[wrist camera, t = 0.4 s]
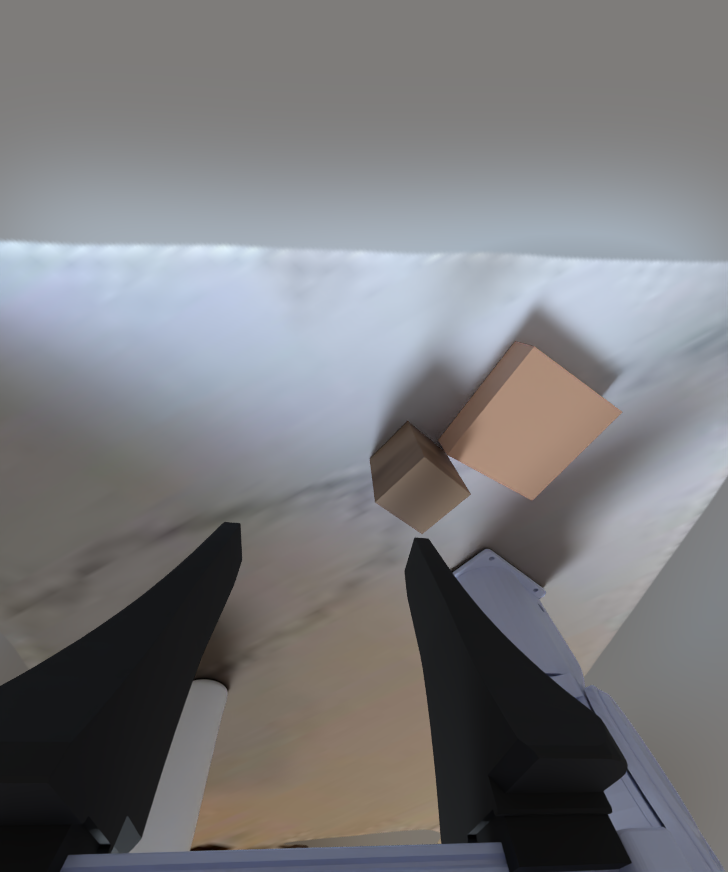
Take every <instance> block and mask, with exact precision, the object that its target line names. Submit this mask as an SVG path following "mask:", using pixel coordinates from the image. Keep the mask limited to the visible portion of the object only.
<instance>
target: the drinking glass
mask: <svg viewBox="0 0 728 872" xmlns="http://www.w3.org/2000/svg"><path fill="white" fill-rule="evenodd" d="M227 698H228V691H227V689H226V687H225V686H224V685H223V684H221V683H219V682H217V681H214V680H209V679H198V680H194V681H193V682H192V685H191V688H190V691H189V693H188V696H187V699H186V702H185V705H184V708H183V711H182V714H181V717H180V720H179V723H178V725H177V728H176V731H175V734H174V737H173V740H172V744H171V747H170V750H169V753H168V756H167V759H166V762H165V765H164V768H163V771H162V774H161V777H160V781H159V784H158V787H157V790H156V793H155V797H154V800H153V803H152V806H151V810H150V813H149V816H148V819H147V822H146V826H145V829H144V832H143V836H142V839H141V840H140V841H139V842H138V844H137V845H136V846H135V847H134V848H133V849H132V850H131V851H130V852H129V853H151V852H185V851H190V849H191V845H192V841H193V837H194V833H195V829H196V825H197V821H198V816H199V812H200V808H201V803H202V799H203V795H204V791H205V786H206V782H207V778H208V773H209V769H210V765H211V761H212V756H213V752H214V748H215V744H216V740H217V735H218V731H219V727H220V723H221V719H222V715H223V712H224V708H225V705H226V702H227Z"/></svg>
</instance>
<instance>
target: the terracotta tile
mask: <svg viewBox="0 0 728 872" xmlns="http://www.w3.org/2000/svg"><path fill="white" fill-rule="evenodd" d="M621 413H622V411H620V410H619V409H618V408H616V407H615V406H614V405H612V404H611V403H610V402H608V401H607V400H606V399H604V398H603V397H602V396H600V395H599V394H598V393H596V392H595V391H594V390H592V389H591V388H589V387H588V386H587V385H585V384H584V383H583V382H581V381H580V380H579V379H577V378H576V377H575V376H573V375H572V374H571V373H569V372H568V371H567V370H565V369H564V368H563V367H561V366H560V365H559V364H557V363H556V362H555V361H553V360H552V359H551V358H549V357H548V356H547V355H545V354H544V353H543V352H541V351H540V350H539V349H537V348H536V347H535V346H531V345H527V344H524V343H520V342H516V341H515V342H514V343H513V344H512V346H511V347H510V348H509V350H508V351H507V352H506V353H505V355H504V356H503V357H502V359H501V360H500V361H499V362H498V364H497V365H496V366H495V368H494V369H493V370H492V371H491V373H490V374H489V375H488V377H487V378H486V379H485V380H484V382H483V383H482V384H481V386H480V387H479V388H478V389H477V391H476V392H475V393H474V395H473V396H472V397H471V398H470V400H469V401H468V402H467V404H466V405H465V406H464V407H463V409H462V410H461V411H460V413H459V414H458V415H457V416H456V418H455V419H454V420H453V422H452V423H451V424H450V425H449V427H448V428H447V429H446V431H445V432H444V433H443V434H442V436H441V437H440V438H439V440H438V441H439V443H440V444H441V446H442V447H443V449H444V451H445V452H446V454H447V455H449V456H450V457H452V458H454V459H456V460H458V461H460V462H461V463H463V464H465V465H467V466H469V467H471V468H473V469H474V470H476V471H478V472H480V473H482V474H484V475H486V476H487V477H489V478H491V479H493V480H495V481H497V482H498V483H500V484H502V485H504V486H506V487H508V488H510V489H511V490H513V491H515V492H517V493H519V494H521V495H523V496H524V497H526V498H528V499H530V500H533V499H535V498H536V497H537V496H538V495H539V494H540V493H541V492H542V491H543V490H544V489H545V488H546V487H547V486H548V485H549V484H550V483H551V482H552V481H553V480H554V479H555V478H556V477H557V476H558V475H559V474H560V473H561V472H562V471H563V470H564V469H565V468H566V467H567V466H568V465H569V464H570V463H571V462H572V461H573V460H574V459H575V458H576V457H577V456H578V455H579V454H580V453H581V452H582V451H583V450H584V449H585V448H586V447H587V446H588V445H589V444H591V443H592V442H593V441H594V440H595V439H596V438H597V437H598V436H599V435H600V434H601V433H602V432H603V431H604V430H605V429H606V428H607V427H608V426H609V425H610V424H611V423H612V422H613V421H614V420H615V419H616V418H617V417H618V416H619V415H620V414H621Z"/></svg>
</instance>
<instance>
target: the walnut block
mask: <svg viewBox="0 0 728 872" xmlns="http://www.w3.org/2000/svg"><path fill="white" fill-rule="evenodd" d="M370 465H371V473H372V481H373V489H374V497H375V503H377V504H378V505H380V506H381V507H383V508H384V509H386V510H387V511H389V512H390V513H392V514H393V515H395V516H396V517H398V518H399V519H400V520H402V521H403V522H405V523H406V524H408V525H409V526H411V527H412V528H414V529H415V530H417V531H418V532H420V533H421V534H423V533H424V532H425V531H427V530H428V529H429V528H430V527H431V526H433V525H434V524H435V523H436V522H438V521H439V520H440V519H441V518H442V517H444V516H445V515H446V514H447V513H449V512H450V511H451V510H452V509H454V508H455V507H456V506H457V505H458V504H460V503H461V502H462V501H463V500H465V499H466V498H467V497H468V496H469V495H471V494H470V492H469V490H468V489H467V487H466V485H465V484H464V482H463V481H462V479H461V477H460V476H459V474H458V472H457V471H456V469H455V467H454V466H453V464H452V463H451V461H450V459H449V458H448V456H447V454H446V453H445V452H444V451H443V450H442V449H440V448H439V447H438V446H437V445H436V444H434V443H433V442H432V441H431V440H430V439H429V438H427V437H426V436H425V435H424V434H423V433H421V432H420V431H419V430H418V429H417V428H415V427H414V426H413V425H412V424H411V423H409V422H408V421H407V422H406V423H405V424H404V425H403V426H402V427H401V428H400V429H399V430H398V431H397V432H396V433H395V434H394V435H393V436H392V437H391V438H390V439H389V440H388V441H387V442H386V443H385V444H384V445H383V446H382V447H381V448H380V449H379V450H378V451H377V452H376V453H375V454H374V455H373V456H372V457H371V458H370Z"/></svg>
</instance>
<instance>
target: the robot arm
mask: <svg viewBox="0 0 728 872" xmlns="http://www.w3.org/2000/svg"><path fill="white" fill-rule="evenodd" d="M241 562H242V547H241V526H240V523H230V522H224V523H223V524H221V525H220V526H219V527H218V528H217V529H216V530H215V531H214V532H213V533H212V534H211V535H210V536H209V537H208V538H207V539H206V540H205V541H204V542H203V543H202V544H201V545H200V546H199V547H198V548H197V549H196V550H195V551H194V552H193V553H191V554H190V555H189V556H188V557H187V558H186V559H185V560H184V561H183V562H182V563H180V564H179V565H178V566H177V567H176V568H175V569H174V570H172V571H171V572H170V573H169V574H168V575H166V576H165V577H164V578H163V579H162V580H161V581H159V582H158V583H157V584H156V585H155V586H153V587H152V588H151V589H150V590H148V591H147V592H146V593H144V594H143V595H142V596H141V597H139V598H138V599H137V600H135V601H134V602H133V603H131V604H130V605H129V606H127V607H126V608H125V609H123V610H122V611H120V612H119V613H117V614H116V615H115V616H113V617H112V618H110V619H109V620H107V621H106V622H105V623H103V624H102V625H100V626H99V627H97V628H96V629H94V630H93V631H91V632H90V633H88V634H87V635H85V636H84V637H82V638H81V639H79V640H77V641H76V642H74V643H73V644H71V645H69V646H68V647H66V648H64V649H63V650H61V651H60V652H58V653H56V654H55V655H53V656H52V657H50V658H48V659H47V660H45V661H43V662H42V663H40V664H38V665H37V666H35V667H33V668H32V669H30V670H28V671H26V672H25V673H23V674H21V675H19V676H18V677H16V678H14V679H12V680H10V681H8V682H7V683H5V684H3V685H1V686H0V872H725V870H724V868H723V866H722V865H721V863H720V861H719V860H718V858H717V857H716V855H715V854H714V852H713V851H712V849H711V848H710V846H709V844H708V843H707V841H706V840H705V838H704V837H703V835H702V834H701V832H700V831H699V829H698V827H697V825H696V823H695V821H694V819H693V817H692V816H691V814H690V812H689V811H688V809H687V807H686V806H685V804H684V802H683V801H682V799H681V798H680V796H679V794H678V793H677V791H676V790H675V788H674V787H673V785H672V783H671V782H670V781H669V779H668V777H667V776H666V774H665V773H664V771H663V770H662V768H661V767H660V765H659V764H658V762H657V761H656V759H655V758H654V756H653V755H652V753H651V752H650V750H649V749H648V747H647V746H646V744H645V743H644V741H643V740H642V738H641V737H640V735H639V734H638V733H637V731H636V730H635V728H634V727H633V725H632V724H631V722H630V721H629V720H628V718H627V717H626V716H625V714H624V713H623V711H622V710H621V709H620V707H619V706H618V705H617V703H616V702H615V701H614V699H613V698H612V697H611V696H610V695H609V694H608V693H606V692H604V691H602V690H600V689H598V688H597V687H596V686H594V685H590V686H588V687H586V688H585V683H584V677H583V673H582V670H581V667H580V665H579V663H578V661H577V660H576V658H575V656H574V655H573V653H572V651H571V650H570V648H569V647H568V645H567V643H566V642H565V640H564V639H563V637H562V635H561V634H560V632H559V631H558V629H557V627H556V626H555V624H554V623H553V621H552V619H551V618H550V616H549V615H548V613H547V611H546V610H545V608H544V607H543V605H542V603H541V602H540V600H539V599H540V598H542V597H543V596H545V594H546V591H545V590H544V588H542V587H541V586H540V585H538V584H537V583H535V582H534V581H533V580H531V579H530V578H529V577H527V576H526V575H525V574H523V573H522V572H520V571H519V570H518V569H516V568H515V567H514V566H512V565H511V564H510V563H508V562H507V561H505V560H504V559H503V558H501V557H500V556H499V555H497V554H496V553H495V552H493V551H492V550H490V549H485V550H483V551H482V552H480V553H479V554H478V555H476V556H475V557H473V558H472V559H471V560H469V561H468V562H467V563H465V564H464V565H462V566H461V567H460V568H458V569H457V570H455V571H454V572H453V573H452V572H451V570H450V569H449V567H448V566H447V565H446V563H445V562H444V560H443V559H442V557H441V556H440V555H439V553H438V552H437V550H436V549H435V547H434V546H433V544H432V543H431V541H430V540H429V539H427V538H414V541H413V544H412V548H411V551H410V554H409V558H408V561H407V565H406V568H405V580H406V590H407V597H408V602H409V607H410V611H411V616H412V620H413V625H414V629H415V634H416V638H417V642H418V647H419V651H420V656H421V661H422V667H423V673H424V680H425V688H426V695H427V703H428V711H429V719H430V727H431V736H432V745H433V755H434V764H435V774H436V786H437V797H438V809H439V821H440V835H441V843H442V844H429V845H428V844H426V845H395V846H394V845H392V846H359V847H358V846H357V847H324V848H289V849H254V850H220V851H185V852H151V853H129V852H130V851H131V850H132V849H133V848H134V847H135V846H136V845H137V844H138V842H139V841H140V840H141V839H142V836H143V832H144V829H145V826H146V822H147V819H148V816H149V813H150V810H151V806H152V803H153V800H154V797H155V793H156V790H157V787H158V784H159V781H160V777H161V774H162V771H163V768H164V765H165V762H166V759H167V756H168V753H169V750H170V747H171V744H172V740H173V737H174V734H175V731H176V728H177V725H178V723H179V720H180V717H181V714H182V711H183V708H184V705H185V702H186V699H187V696H188V693H189V691H190V688H191V685H192V682H193V679H194V677H195V674H196V671H197V668H198V666H199V663H200V660H201V658H202V655H203V653H204V650H205V648H206V646H207V644H208V641H209V639H210V637H211V635H212V633H213V630H214V628H215V626H216V624H217V622H218V619H219V617H220V615H221V613H222V611H223V608H224V606H225V604H226V602H227V599H228V597H229V595H230V593H231V590H232V588H233V586H234V583H235V580H236V577H237V574H238V571H239V568H240V565H241Z"/></svg>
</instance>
